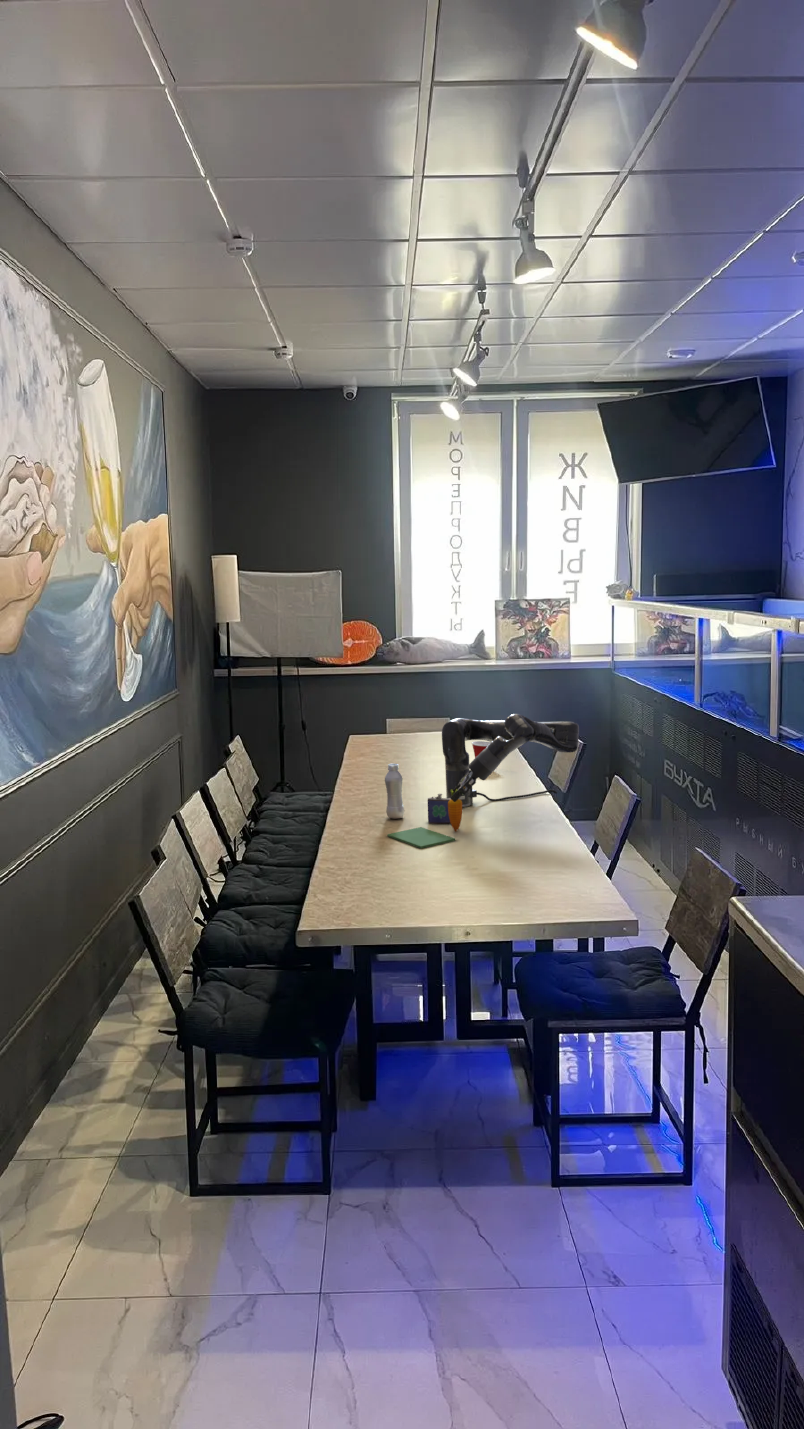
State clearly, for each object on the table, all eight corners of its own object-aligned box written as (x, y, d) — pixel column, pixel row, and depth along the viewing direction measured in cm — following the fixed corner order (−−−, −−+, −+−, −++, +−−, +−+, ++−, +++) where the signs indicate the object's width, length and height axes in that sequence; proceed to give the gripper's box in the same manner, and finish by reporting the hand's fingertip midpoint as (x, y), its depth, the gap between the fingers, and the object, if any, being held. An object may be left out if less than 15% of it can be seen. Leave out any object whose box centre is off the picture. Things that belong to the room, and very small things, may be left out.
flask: (454, 822, 342) (453, 793, 341) (452, 824, 339) (451, 794, 338) (429, 821, 345) (427, 792, 343) (427, 823, 342) (425, 794, 340)
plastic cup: (497, 770, 430) (496, 743, 428) (472, 771, 430) (472, 744, 428) (495, 765, 440) (494, 739, 439) (471, 766, 441) (470, 740, 439)
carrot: (447, 830, 332) (446, 787, 330) (462, 829, 332) (460, 786, 330) (449, 833, 327) (448, 790, 325) (464, 833, 327) (462, 790, 325)
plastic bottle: (402, 820, 348) (400, 766, 345) (384, 820, 349) (382, 766, 346) (406, 816, 354) (404, 762, 351) (388, 815, 356) (386, 762, 353)
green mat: (420, 829, 335) (420, 826, 335) (455, 840, 318) (455, 838, 318) (387, 836, 327) (387, 834, 327) (420, 848, 311) (420, 846, 311)
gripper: (493, 775, 319) (460, 809, 321) (493, 766, 333) (461, 799, 335) (477, 760, 318) (443, 794, 321) (477, 752, 332) (445, 785, 335)
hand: (452, 797), depth 328 cm, fingers open, 8 cm apart
